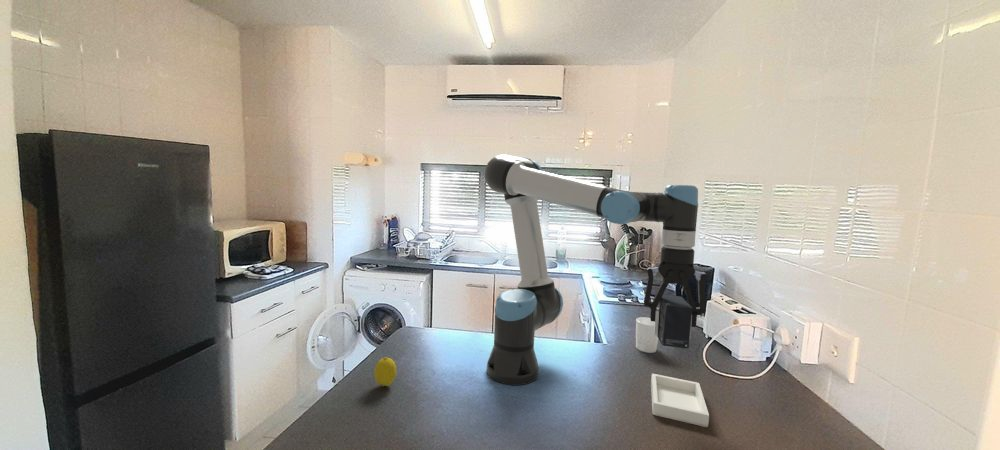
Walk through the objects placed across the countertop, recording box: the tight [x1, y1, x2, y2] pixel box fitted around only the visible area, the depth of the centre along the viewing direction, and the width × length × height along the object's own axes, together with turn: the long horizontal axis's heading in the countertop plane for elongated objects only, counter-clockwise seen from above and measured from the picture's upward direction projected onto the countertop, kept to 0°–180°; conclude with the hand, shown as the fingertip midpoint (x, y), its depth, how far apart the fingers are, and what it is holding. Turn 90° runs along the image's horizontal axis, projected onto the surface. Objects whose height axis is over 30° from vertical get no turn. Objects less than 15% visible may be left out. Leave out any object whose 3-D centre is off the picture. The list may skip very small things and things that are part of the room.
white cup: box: [635, 316, 659, 354], centre depth 129 cm, size 8×8×10 cm
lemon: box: [374, 356, 397, 387], centre depth 97 cm, size 6×6×8 cm
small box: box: [657, 294, 692, 349], centre depth 94 cm, size 11×6×10 cm, turn 167°
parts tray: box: [650, 373, 710, 428], centre depth 96 cm, size 12×16×3 cm
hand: (671, 335), depth 95 cm, fingers closed on small box, 7 cm apart
